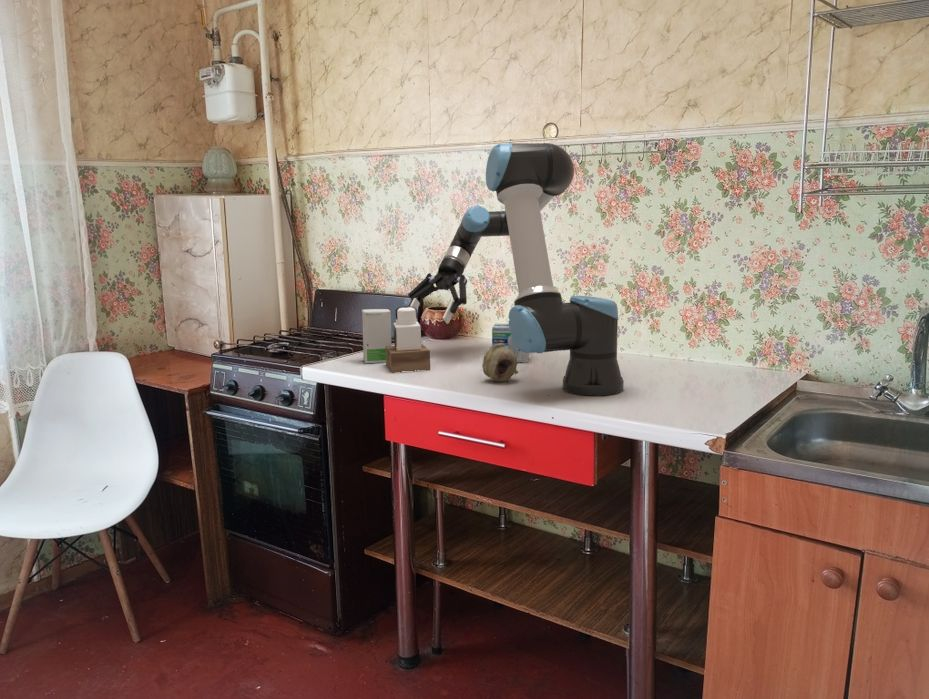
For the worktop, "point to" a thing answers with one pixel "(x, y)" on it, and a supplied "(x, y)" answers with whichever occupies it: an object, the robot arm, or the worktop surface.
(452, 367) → the worktop surface
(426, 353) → the walnut block
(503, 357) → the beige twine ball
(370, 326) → the skincare box
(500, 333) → the light bulb box
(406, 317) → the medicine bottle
